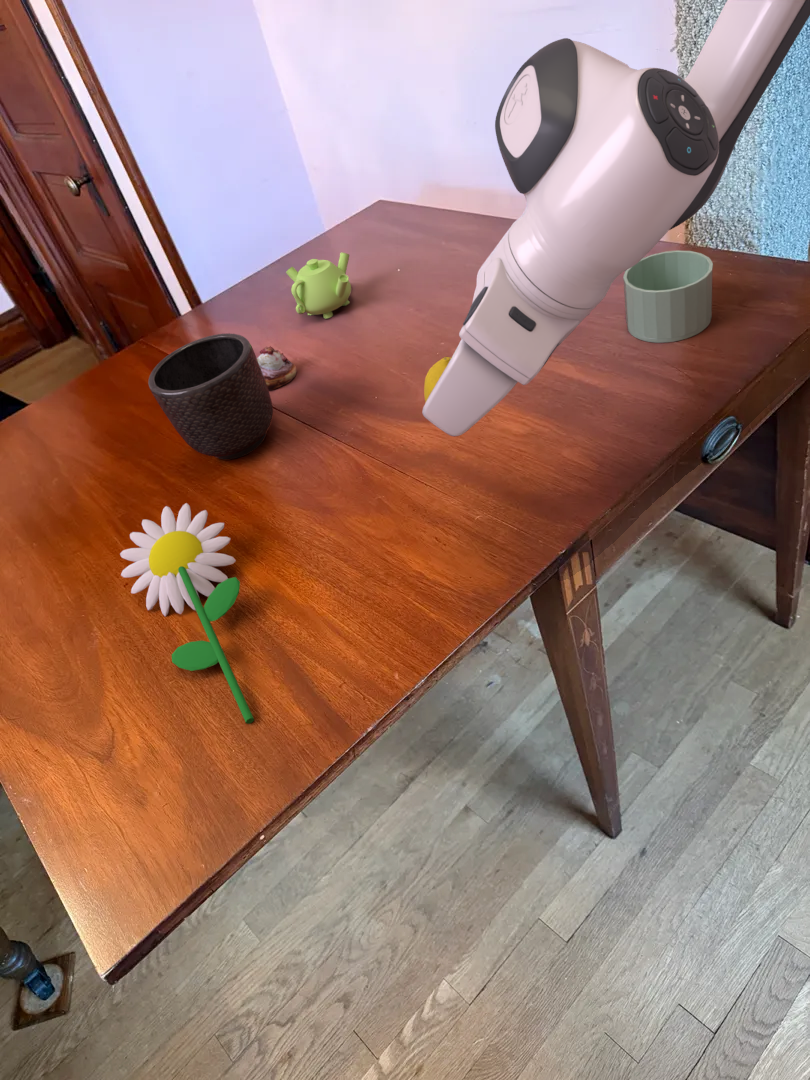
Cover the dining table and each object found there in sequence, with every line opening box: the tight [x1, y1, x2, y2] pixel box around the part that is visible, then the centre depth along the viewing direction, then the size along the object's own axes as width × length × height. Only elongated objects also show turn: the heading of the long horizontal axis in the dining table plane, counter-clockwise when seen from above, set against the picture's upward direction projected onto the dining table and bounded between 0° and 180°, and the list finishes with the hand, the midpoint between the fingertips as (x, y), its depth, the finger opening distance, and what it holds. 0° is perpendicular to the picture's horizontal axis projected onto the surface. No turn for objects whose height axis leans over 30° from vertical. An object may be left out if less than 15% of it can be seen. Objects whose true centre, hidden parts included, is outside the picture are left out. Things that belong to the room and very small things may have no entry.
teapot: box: [285, 252, 352, 320], centre depth 124 cm, size 11×12×8 cm
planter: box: [147, 332, 274, 461], centre depth 99 cm, size 14×14×13 cm
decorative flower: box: [119, 502, 255, 725], centre depth 78 cm, size 13×5×30 cm
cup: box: [622, 250, 714, 344], centre depth 95 cm, size 10×10×7 cm
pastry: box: [256, 345, 297, 391], centre depth 112 cm, size 8×8×5 cm
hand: (447, 392), depth 69 cm, fingers closed on lemon, 5 cm apart
